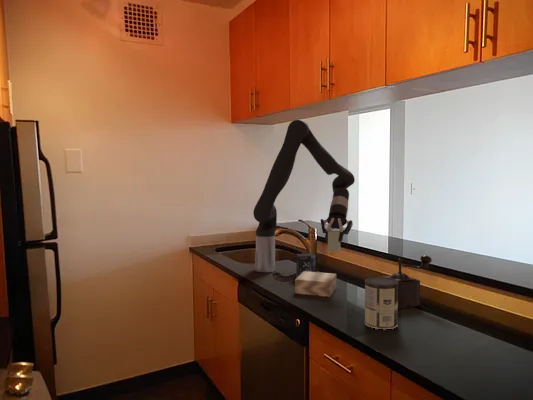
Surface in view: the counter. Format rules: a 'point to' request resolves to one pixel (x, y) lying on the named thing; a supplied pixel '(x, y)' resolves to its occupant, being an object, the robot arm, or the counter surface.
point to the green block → (333, 241)
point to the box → (305, 263)
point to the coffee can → (381, 302)
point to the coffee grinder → (409, 284)
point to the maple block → (315, 283)
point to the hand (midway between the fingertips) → (333, 240)
